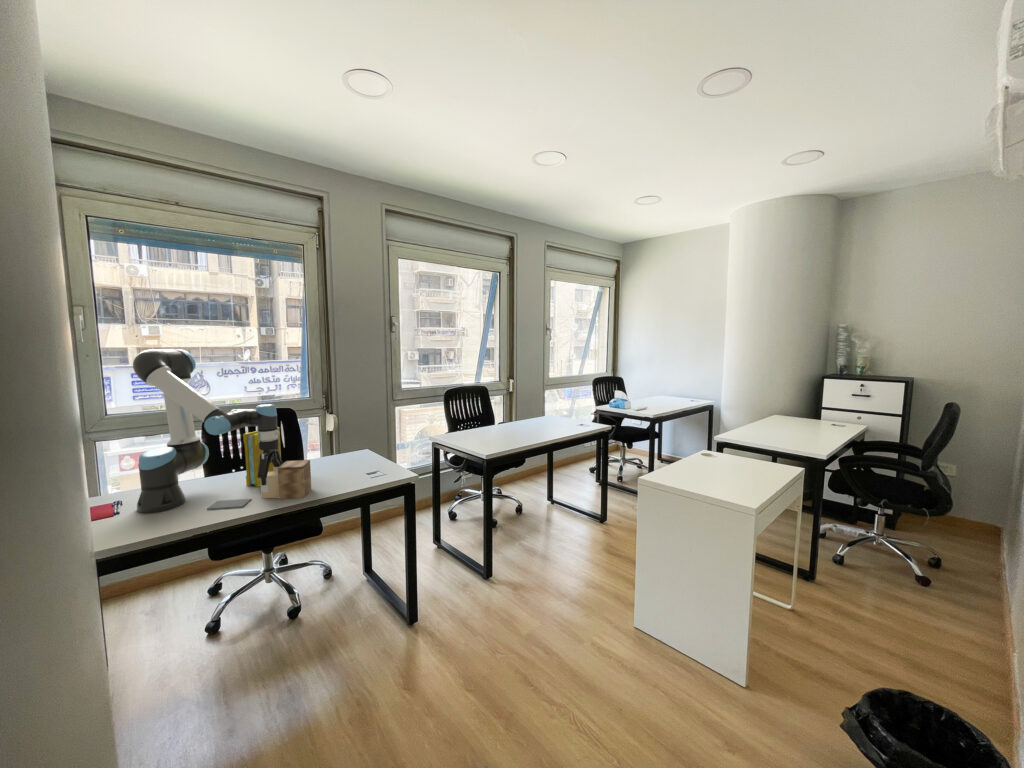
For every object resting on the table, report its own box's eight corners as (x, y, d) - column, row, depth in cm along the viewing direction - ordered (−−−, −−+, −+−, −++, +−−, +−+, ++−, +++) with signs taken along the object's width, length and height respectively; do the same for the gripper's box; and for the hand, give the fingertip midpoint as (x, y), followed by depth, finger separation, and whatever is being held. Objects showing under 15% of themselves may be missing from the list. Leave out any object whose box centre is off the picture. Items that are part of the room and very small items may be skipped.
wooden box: (279, 499, 175) (277, 467, 173) (288, 490, 185) (286, 460, 184) (304, 497, 177) (302, 466, 175) (311, 488, 187) (310, 459, 185)
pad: (207, 509, 163) (207, 508, 163) (217, 501, 171) (217, 500, 171) (242, 507, 166) (242, 506, 166) (251, 500, 174) (251, 498, 173)
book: (258, 486, 189) (255, 434, 186) (246, 485, 190) (243, 434, 187) (285, 475, 205) (282, 427, 203) (274, 474, 207) (271, 426, 204)
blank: (261, 498, 176) (260, 476, 174) (267, 493, 182) (265, 471, 180) (291, 496, 178) (289, 474, 177) (295, 491, 184) (294, 470, 183)
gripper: (266, 446, 165) (269, 496, 167) (288, 432, 189) (290, 476, 192) (245, 447, 163) (249, 497, 166) (270, 433, 188) (273, 477, 190)
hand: (271, 486), depth 179 cm, fingers open, 13 cm apart
